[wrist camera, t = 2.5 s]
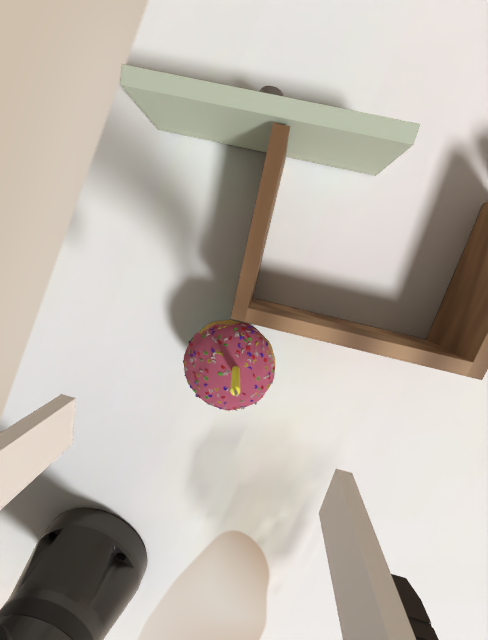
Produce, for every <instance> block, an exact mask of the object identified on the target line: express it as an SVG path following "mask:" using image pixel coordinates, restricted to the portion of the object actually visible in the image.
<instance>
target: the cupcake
mask: <svg viewBox="0 0 488 640" xmlns="http://www.w3.org/2000/svg"><path fill="white" fill-rule="evenodd" d="M183 363H184V370H185V375H184V376H186V379H187V382H188V384H189V385H190V388H192V389H193V391H194V392H195V393H196V394H197V395H196V397H199V398H201V399H202V400H203V401H205V402H206V403H207V404H208V405H211V406H214V407H217V408H219V409H224V410H236V409H240V408H241V409H244V408H245V407H247V406H249V405H252V404H254V403H255V404H256V403H257V401H259V400H260V399H261V398H262V397H263V395H264V394H265V392H266V391H267V390H268V388H269V387H270V385H271V384H272V383H273V379H274V371H275V357H274V353H273V350H272V347H271V344H270V343H269V341H268V340H267V339H266V338H265V337H264V336H263V335H262V334H261V333H260V332H259V331H258V330H257V329H256V328H255V327H253V326H251V325H249V324H247V323H242V322H239V321H235V320H224V321H215V322H212V323H210V324H208V325H207V326H205V327H204V328H203V329H202V330H201V331H199V332H198V333H196V334H195V335H194V337H193V338H192V339H191V341H189V345H188V347H187V350H186V352H185V355H184V360H183Z"/></svg>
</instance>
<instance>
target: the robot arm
mask: <svg viewBox="0 0 488 640" xmlns="http://www.w3.org/2000/svg"><path fill="white" fill-rule="evenodd" d="M75 403H76V398H73V397H70V396H66V395H62V394H61V395H60V396H58V397H56V398H55V399H53V400H52V401H50V402H48V403H47V404H45V405H44V406H42V407H41V408H39V409H37V410H36V411H34V412H33V413H31V414H29V415H28V416H26V417H25V418H23V419H21V420H20V421H18V422H17V423H15V424H14V425H12V426H10V427H9V428H7V429H6V430H4V431H2V432H1V433H0V510H1V509H2V508H3V507H4V506H5V505H7V504H8V503H9V502H10V501H11V500H12V499H13V498H14V497H15V496H16V495H17V494H19V493H20V492H21V491H22V490H23V489H24V488H25V487H26V486H27V485H28V484H29V483H31V482H32V481H33V480H34V479H35V478H36V477H37V476H38V475H39V474H40V473H42V472H43V471H44V470H45V469H46V468H47V467H48V466H49V465H50V464H51V463H52V462H54V461H55V460H56V459H57V458H58V457H59V456H60V455H61V454H62V453H63V452H64V451H66V450H67V449H68V448H69V447H70V446H71V445H72V444H73V433H74V418H75ZM319 516H320V521H321V527H322V532H323V537H324V542H325V548H326V553H327V558H328V563H329V568H330V574H331V579H332V584H333V589H334V595H335V600H336V605H337V610H338V615H339V621H340V626H341V631H342V636H343V640H438V637H437V635H436V633H435V631H434V628H432V626H431V622H430V619H429V617H428V615H427V613H426V610H425V608H424V606H423V604H422V601H421V599H420V598H419V596H418V595H417V593H416V592H415V591H414V589H413V588H412V586H411V585H410V583H409V582H408V580H407V579H406V578H403V577H400V576H397V575H393V574H391V573H390V570H389V568H388V565H387V563H386V560H385V557H384V555H383V552H382V550H381V547H380V545H379V542H378V539H377V537H376V534H375V532H374V529H373V526H372V524H371V521H370V519H369V516H368V513H367V511H366V508H365V506H364V503H363V500H362V498H361V495H360V493H359V490H358V487H357V485H356V482H355V480H354V477H353V474H352V473H350V472H346V471H342V470H339V469H336V470H335V472H334V475H333V478H332V480H331V483H330V485H329V488H328V491H327V493H326V496H325V498H324V501H323V504H322V506H321V509H320V511H319ZM146 567H147V553H146V550H145V547H144V545H143V543H142V541H141V539H140V538H139V536H138V535H137V534H136V532H135V531H134V530H133V529H132V528H131V527H130V526H129V525H127V524H126V523H125V522H123V521H122V520H120V519H119V518H117V517H115V516H113V515H111V514H109V513H106V512H103V511H100V510H95V509H87V508H81V509H73V510H70V511H67V512H65V513H63V514H61V515H60V516H58V517H57V518H56V519H55V520H54V521H53V523H52V524H51V525H50V526H49V527H48V529H47V530H46V531H45V532H44V533H43V535H42V536H41V538H40V539H39V541H38V543H37V545H36V547H35V549H34V551H33V553H32V555H31V557H30V558H29V560H28V562H27V564H26V566H25V568H24V570H23V572H22V574H21V576H20V578H19V580H18V582H17V584H16V586H15V588H14V590H13V592H12V594H11V596H10V598H9V599H8V601H7V602H6V603H5V605H4V606H3V607H2V608H1V610H0V640H103V639H104V638H105V636H106V635H107V633H108V632H109V630H110V629H111V628H112V626H113V625H114V623H115V622H116V620H117V619H118V618H119V616H120V615H121V613H122V612H123V611H124V609H125V608H126V606H127V605H128V603H129V602H130V601H131V599H132V598H133V596H134V595H135V593H136V591H137V590H138V588H139V585H140V583H141V580H142V578H143V575H144V573H145V570H146Z"/></svg>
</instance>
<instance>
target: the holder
mask: <svg viewBox="0 0 488 640" xmlns="http://www.w3.org/2000/svg"><path fill="white" fill-rule="evenodd" d="M289 131H290V126H286V125H281V124H277V123H273V126H272V131H271V135H270V140H269V144H268V149H267V153H266V158H265V163H264V167H263V172H262V176H261V181H260V185H259V190H258V195H257V199H256V204H255V208H254V213H253V217H252V222H251V227H250V231H249V236H248V240H247V245H246V250H245V254H244V259H243V263H242V268H241V272H240V277H239V282H238V286H237V291H236V295H235V300H234V304H233V309H232V314H231V318H230V319H234V320H238V321H242V322H246V323H250V324H254V325H259V326H263V327H267V328H271V329H275V330H279V331H283V332H287V333H291V334H295V335H300V336H304V337H308V338H312V339H316V340H320V341H324V342H328V343H332V344H336V345H340V346H345V347H349V348H353V349H357V350H361V351H365V352H369V353H373V354H377V355H381V356H385V357H390V358H394V359H398V360H402V361H406V362H410V363H414V364H418V365H422V366H426V367H430V368H435V369H439V370H443V371H447V372H451V373H455V374H459V375H463V376H467V377H471V378H476V379H480V380H482V379H483V377H484V375H485V373H486V371H487V369H488V202H487V203H484V204H483V206H482V208H481V211H480V213H479V216H478V218H477V220H476V223H475V225H474V227H473V230H472V232H471V234H470V237H469V239H468V242H467V244H466V246H465V249H464V251H463V253H462V256H461V258H460V261H459V263H458V265H457V268H456V270H455V272H454V275H453V277H452V279H451V282H450V284H449V287H448V289H447V291H446V294H445V296H444V298H443V301H442V303H441V305H440V308H439V310H438V313H437V315H436V317H435V320H434V322H433V324H432V327H431V329H430V332H429V334H428V336H427V339H426V340H425V339H421V338H417V337H413V336H409V335H405V334H400V333H396V332H392V331H388V330H384V329H380V328H375V327H371V326H367V325H363V324H359V323H355V322H350V321H346V320H342V319H338V318H334V317H329V316H325V315H321V314H317V313H313V312H309V311H304V310H300V309H296V308H292V307H288V306H284V305H279V304H275V303H271V302H267V301H263V300H258V299H254V298H253V295H254V290H255V286H256V282H257V278H258V273H259V269H260V265H261V261H262V256H263V252H264V248H265V244H266V239H267V235H268V231H269V227H270V222H271V218H272V214H273V210H274V206H275V201H276V197H277V193H278V189H279V184H280V180H281V176H282V172H283V167H284V163H285V158H286V151H287V145H288V138H289Z"/></svg>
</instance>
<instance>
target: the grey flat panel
mask: <svg viewBox="0 0 488 640" xmlns="http://www.w3.org/2000/svg"><path fill="white" fill-rule="evenodd" d="M120 85H121V86H122V87H123V89H124V90H125V91H126V92H127V93H128V95H129V96H130V97H131V98H132V99H133V101H134V102H135V103H136V104H137V105H138V107H139V108H140V109H141V110H142V111H143V113H144V114H145V115H146V116H147V117H148V119H149V120H150V121H151V122H152V123H153V125H154V126H155V127H156V128H157V129H158V130H162V131H167V132H172V133H176V134H181V135H186V136H191V137H195V138H200V139H205V140H210V141H214V142H219V143H224V144H228V145H233V146H238V147H243V148H247V149H252V150H257V151H261V152H266V153H267V149H268V144H269V140H270V135H271V131H272V126H273V123H277V124H281V125H286V126H290V131H289V138H288V145H287V151H286V157H290V158H294V159H299V160H304V161H309V162H313V163H318V164H323V165H327V166H332V167H337V168H342V169H346V170H351V171H356V172H360V173H365V174H370V175H375V176H376V175H377V174H378V173H380V172H381V171H382V170H383V169H385V168H386V167H387V166H388V165H389V164H391V163H392V162H393V161H394V160H395V159H397V158H398V157H399V156H400V155H401V154H403V153H404V152H405V151H406V150H408V149H409V148H410V147H411V146H412V145H413V144H414V141H415V138H416V135H417V133H418V130H419V127H420V124H417V123H412V122H407V121H402V120H398V119H393V118H388V117H383V116H378V115H373V114H368V113H363V112H358V111H353V110H348V109H343V108H338V107H333V106H328V105H323V104H318V103H313V102H308V101H303V100H298V99H293V98H288V97H284V96H283V93H282V92H281V91H280V90H279V89H278V88H276V87H273V86H265V87H263V88H262V89H261V90H260V92H258V91H253V90H248V89H243V88H238V87H233V86H228V85H223V84H218V83H214V82H209V81H204V80H199V79H194V78H189V77H184V76H179V75H174V74H169V73H164V72H159V71H154V70H149V69H144V68H139V67H134V66H129V65H124V64H122V70H121V81H120Z"/></svg>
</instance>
